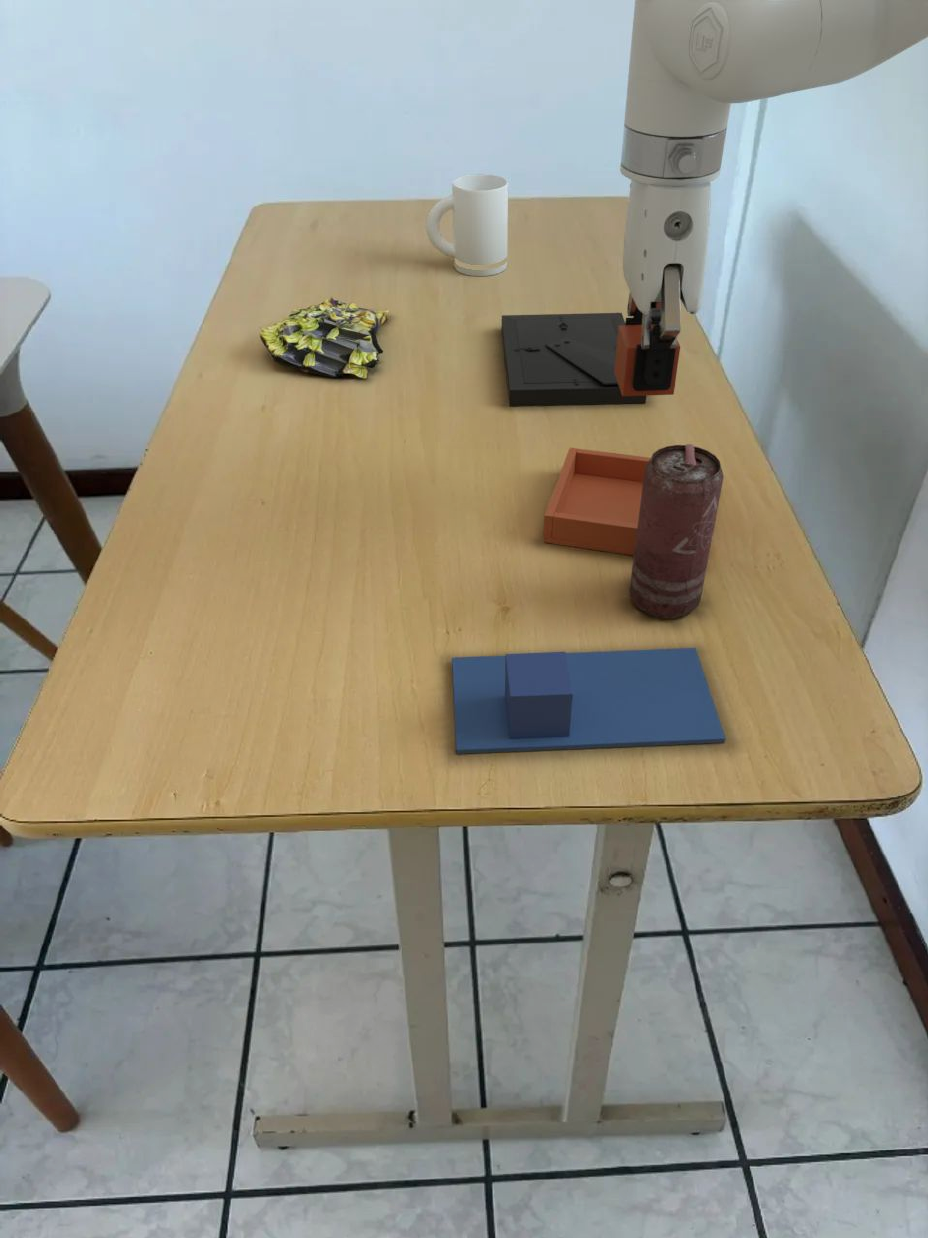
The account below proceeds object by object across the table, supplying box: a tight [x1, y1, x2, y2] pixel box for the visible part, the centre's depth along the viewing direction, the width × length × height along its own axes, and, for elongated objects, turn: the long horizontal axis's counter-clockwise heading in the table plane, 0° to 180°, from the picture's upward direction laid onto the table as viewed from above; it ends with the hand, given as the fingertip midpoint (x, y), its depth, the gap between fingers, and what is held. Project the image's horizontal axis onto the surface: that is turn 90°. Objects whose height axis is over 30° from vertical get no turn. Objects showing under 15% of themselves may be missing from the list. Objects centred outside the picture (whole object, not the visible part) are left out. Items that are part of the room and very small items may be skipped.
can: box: [629, 443, 724, 620], centre depth 80 cm, size 6×6×14 cm
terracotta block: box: [614, 324, 681, 397], centre depth 83 cm, size 4×4×4 cm
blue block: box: [505, 651, 573, 739], centre depth 71 cm, size 4×4×4 cm
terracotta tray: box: [542, 447, 651, 557], centre depth 93 cm, size 15×13×3 cm
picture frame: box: [501, 312, 647, 407], centre depth 118 cm, size 16×3×21 cm
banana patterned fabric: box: [259, 296, 390, 379], centre depth 124 cm, size 20×16×7 cm
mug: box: [425, 173, 509, 277], centre depth 140 cm, size 8×12×12 cm
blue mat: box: [451, 647, 727, 755], centre depth 75 cm, size 20×10×1 cm, turn 92°
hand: (645, 372), depth 84 cm, fingers closed on terracotta block, 4 cm apart
